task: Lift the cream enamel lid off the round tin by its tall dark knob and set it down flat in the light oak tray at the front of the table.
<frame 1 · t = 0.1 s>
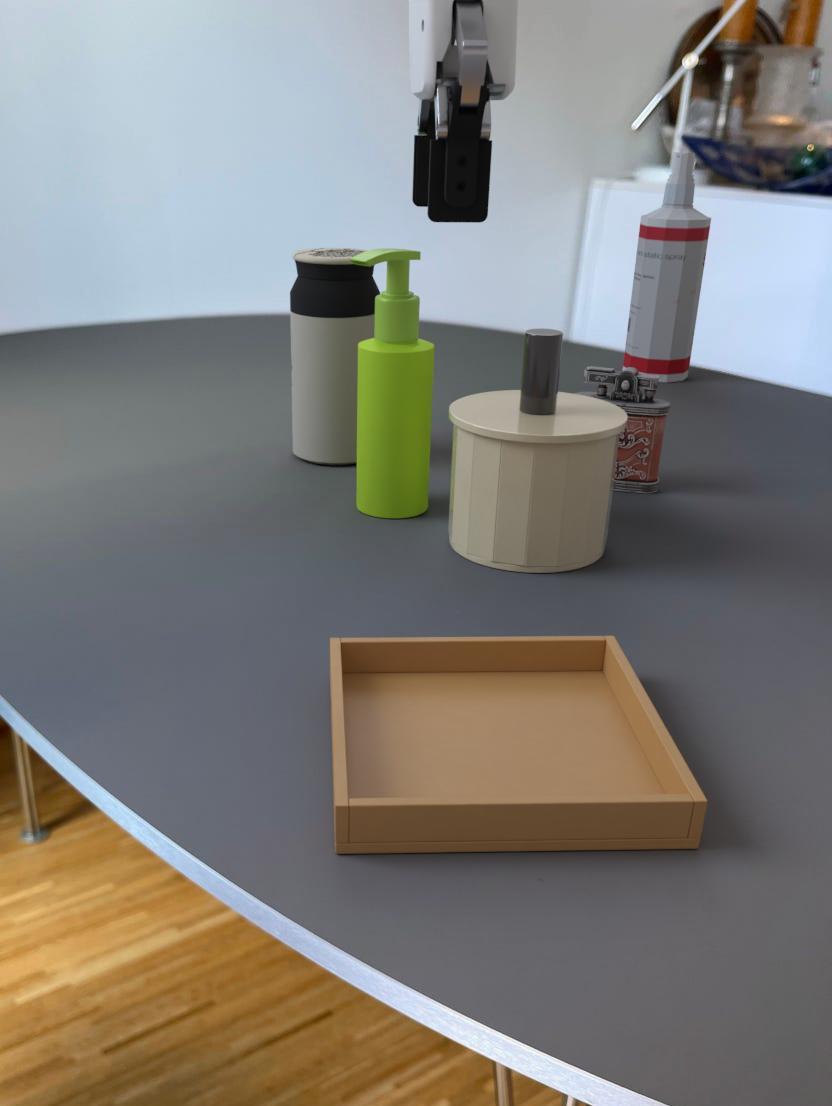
hand: (446, 213, 62), 24 cm above the table, tool pointing down, fingers open, 9 cm apart
spray bottle: (654, 376, 131), on the table
soap dispenser: (387, 510, 87), on the table
tray: (490, 752, 54), on the table
travel mug: (335, 456, 101), on the table
tin: (525, 543, 81), on the table
tin lid: (536, 419, 76), point 9 cm above the table, touching tin
lighter: (610, 485, 93), on the table
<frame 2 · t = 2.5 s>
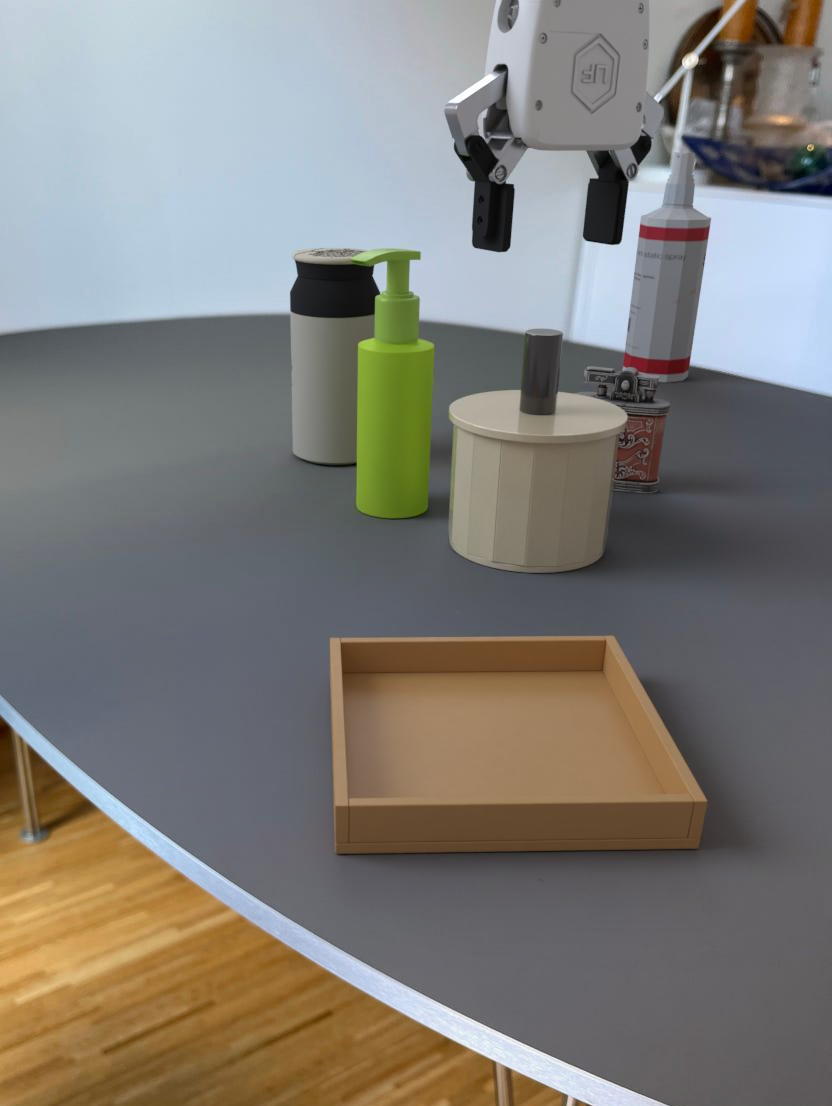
hand: (547, 246, 71), 21 cm above the table, tool pointing down, fingers open, 9 cm apart
nothing on the table moved.
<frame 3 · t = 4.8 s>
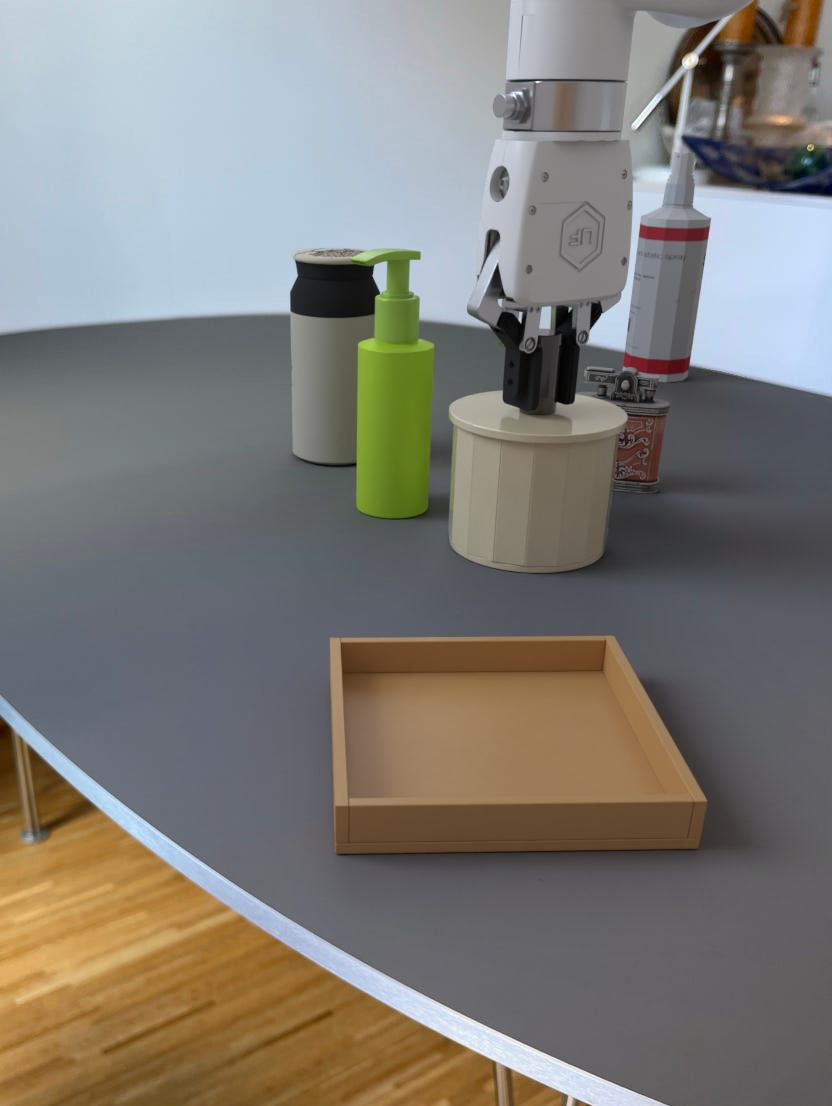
hand: (538, 401, 76), 11 cm above the table, tool pointing down, fingers closed on tin lid, 2 cm apart
tin lid: (536, 419, 76), point 10 cm above the table, touching gripper, tin
everything else where it was.
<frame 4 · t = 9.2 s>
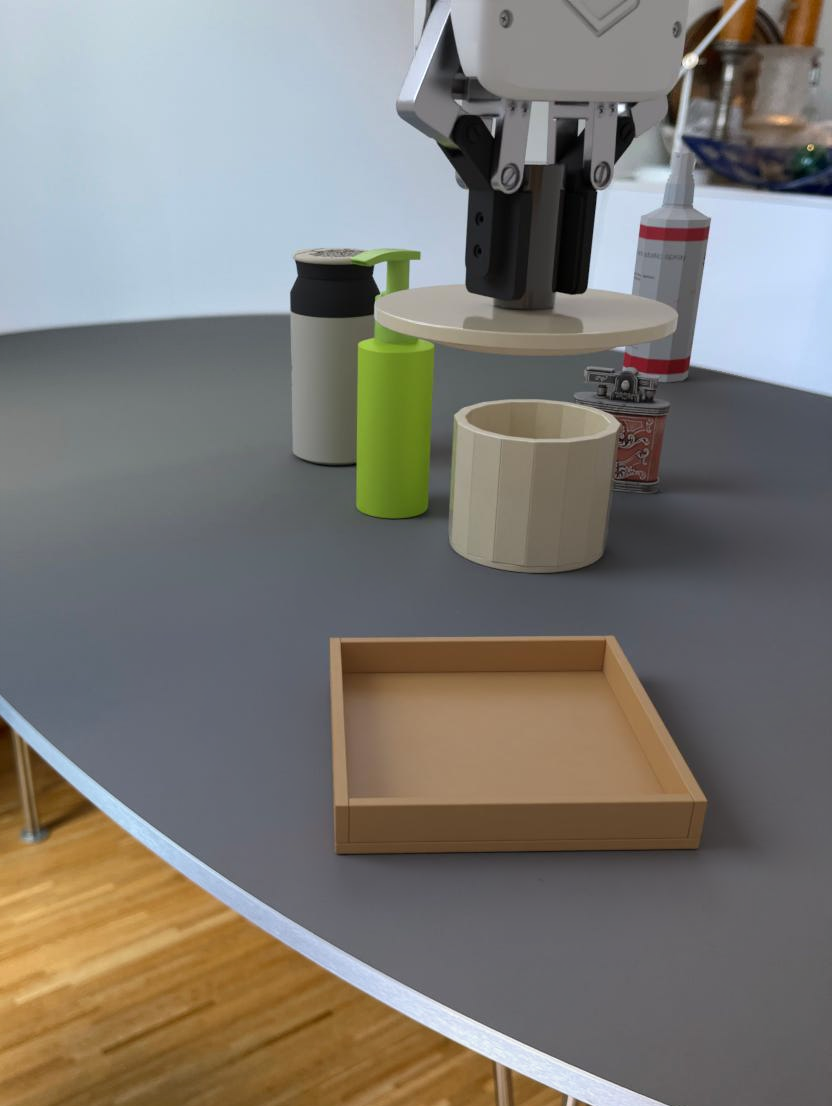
hand: (525, 289, 45), 23 cm above the table, tool pointing down, fingers closed on tin lid, 2 cm apart
tin lid: (522, 320, 45), point 21 cm above the table, touching gripper
everything else where it was.
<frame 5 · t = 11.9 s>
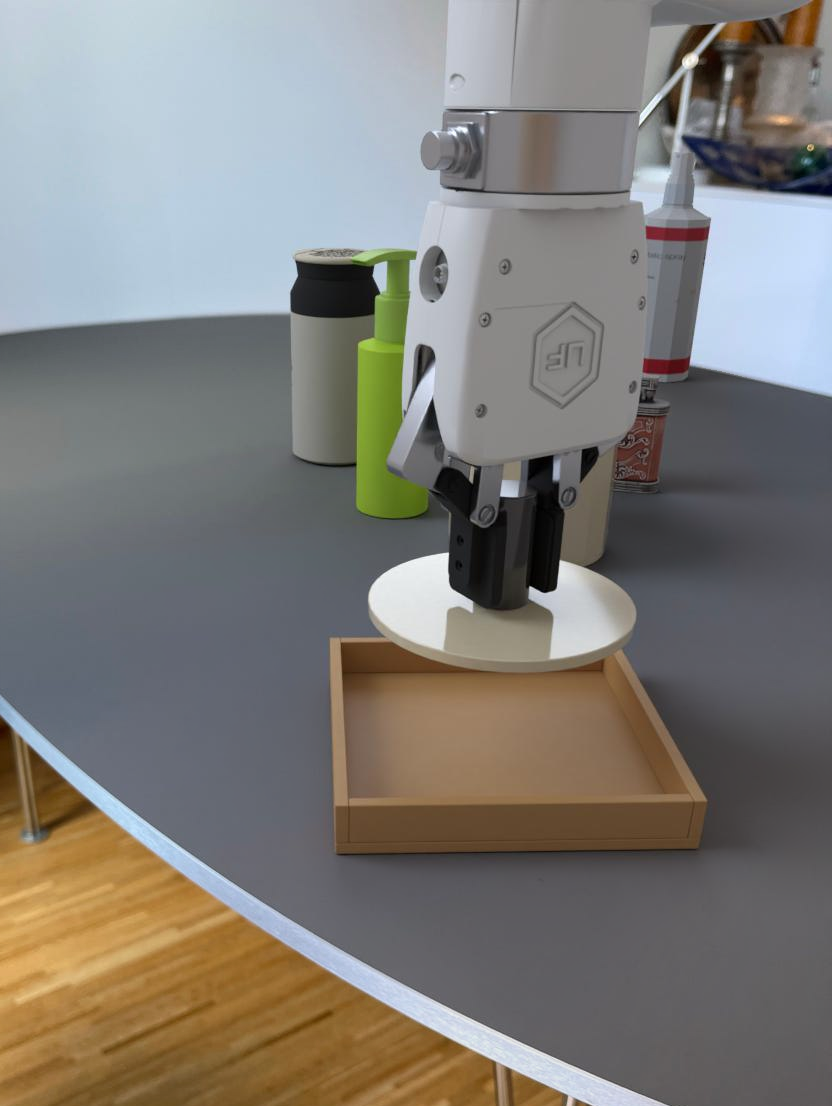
hand: (502, 586, 50), 9 cm above the table, tool pointing down, fingers closed on tin lid, 2 cm apart
tin lid: (499, 610, 51), point 8 cm above the table, touching gripper
everything else where it was.
when the fingers open (2 cm above the table, at t = 13.7 s): tin lid stays where it is, resting on tray.
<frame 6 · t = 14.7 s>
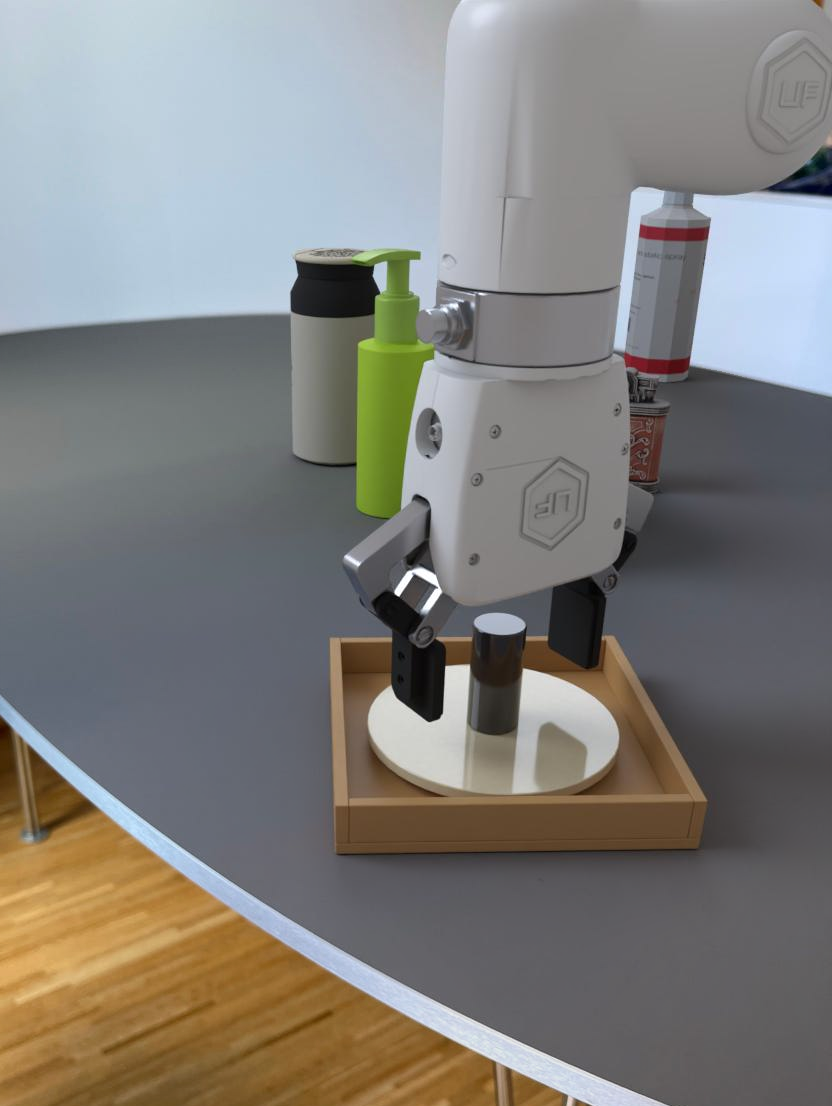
hand: (498, 682, 53), 4 cm above the table, tool pointing down, fingers open, 9 cm apart
tin lid: (491, 732, 54), point 1 cm above the table, touching tray
everything else where it was.
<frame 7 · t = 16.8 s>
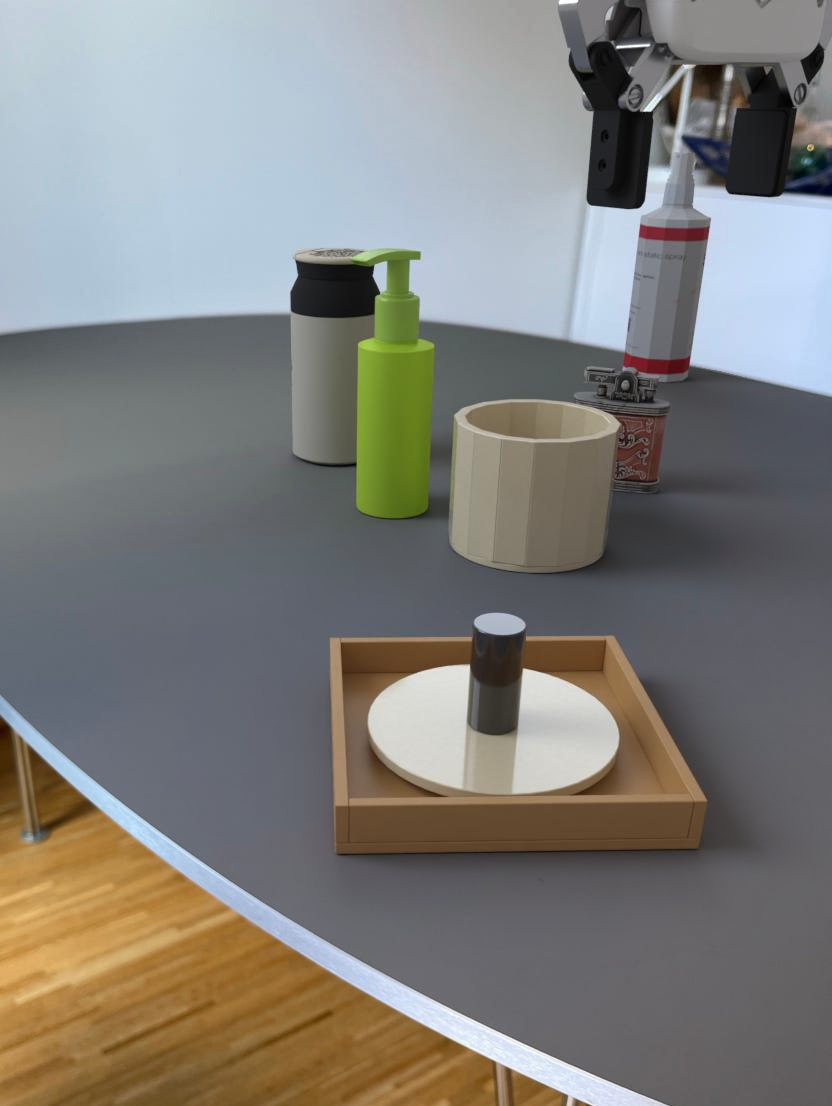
hand: (686, 200, 52), 25 cm above the table, tool pointing down, fingers open, 9 cm apart
nothing on the table moved.
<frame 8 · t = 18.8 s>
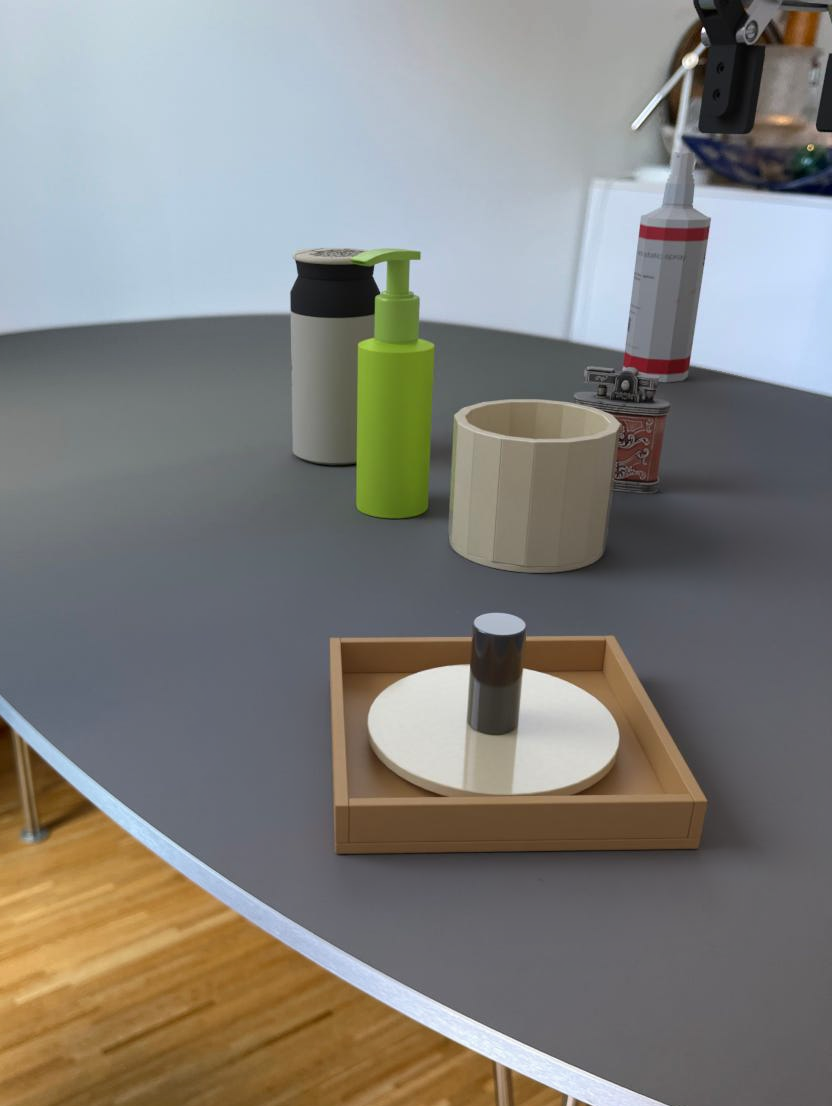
hand: (785, 132, 58), 28 cm above the table, tool pointing down, fingers open, 9 cm apart
nothing on the table moved.
at the end: tin lid inside the target area in the tray (0.0 cm from its centre), point 1.2 cm above the tray's base; tin lid tilted 0°; the gripper is holding nothing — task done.
